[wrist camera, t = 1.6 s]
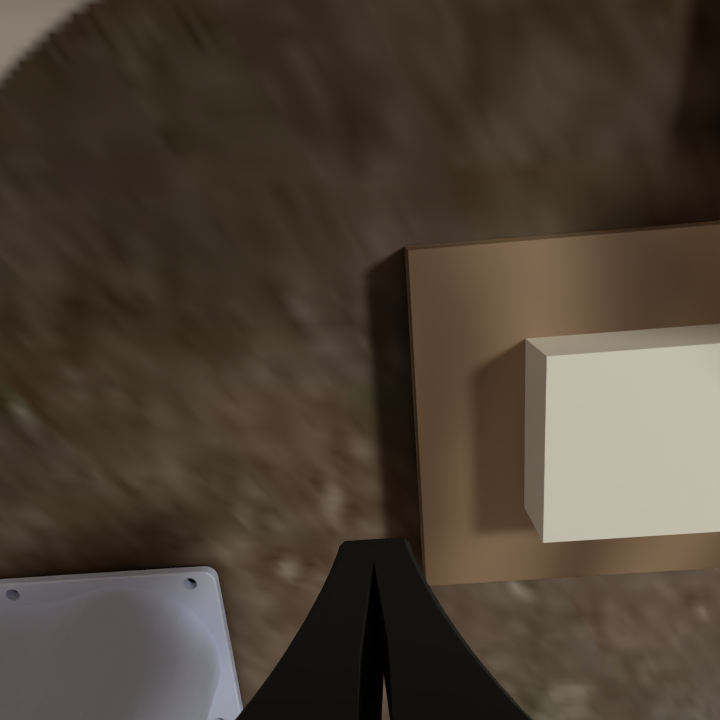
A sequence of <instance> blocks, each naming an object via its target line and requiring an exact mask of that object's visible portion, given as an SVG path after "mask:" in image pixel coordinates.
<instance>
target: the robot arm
mask: <svg viewBox="0 0 720 720" xmlns="http://www.w3.org/2000/svg"><path fill="white" fill-rule="evenodd" d="M187 578H191V579H194V580H195V581H196V582H195V583H193V582H190V581H189V580H188V579H187ZM14 590H16V591H17V592H18V593H17V592H15V591H14ZM383 676H384V679H385V686H386V693H387V701H388V708H389V715H390V720H532V719H531V718H530V717H529V716H528V715H527V714H526V713H525V712H524V711H523V710H522V709H521V708H520V706H519V705H518V704H517V703H516V702H515V701H514V700H513V699H512V698H511V696H510V695H509V694H508V693H507V692H506V691H505V690H504V689H503V688H502V687H501V685H500V684H499V683H498V682H497V681H496V679H495V678H494V677H493V676H492V675H491V674H490V672H489V671H488V670H487V669H486V668H485V666H484V665H483V664H482V663H481V661H480V660H479V659H478V658H477V656H476V655H475V654H474V652H473V651H472V650H471V648H470V647H469V646H468V644H467V643H466V642H465V640H464V639H463V637H462V636H461V635H460V633H459V632H458V630H457V629H456V628H455V626H454V625H453V623H452V622H451V620H450V619H449V617H448V616H447V614H446V613H445V611H444V610H443V608H442V606H441V605H440V603H439V601H438V600H437V598H436V597H435V595H434V593H433V592H432V590H431V588H430V587H429V585H428V583H427V581H426V579H425V577H424V576H423V574H422V572H421V570H420V568H419V566H418V564H417V561H416V559H415V557H414V555H413V552H412V549H411V546H410V542H409V541H407V540H406V539H405V538H404V537H402V538H386V539H371V540H356V541H344V542H343V544H342V545H341V546H340V547H339V550H338V553H337V556H336V559H335V561H334V564H333V566H332V568H331V571H330V573H329V575H328V577H327V579H326V581H325V584H324V586H323V588H322V590H321V592H320V593H319V595H318V597H317V599H316V601H315V603H314V605H313V607H312V609H311V610H310V612H309V614H308V616H307V618H306V619H305V621H304V623H303V624H302V626H301V628H300V629H299V631H298V633H297V634H296V636H295V637H294V639H293V641H292V642H291V644H290V646H289V647H288V649H287V650H286V652H285V654H284V655H283V657H282V658H281V659H280V661H279V662H278V664H277V665H276V667H275V668H274V670H273V671H272V673H271V674H270V675H269V677H268V678H267V679H266V681H265V682H264V684H263V685H262V686H261V688H260V689H259V690H258V692H257V693H256V694H255V696H254V697H253V698H252V699H251V701H250V702H249V703H248V704H247V706H246V707H245V708H244V709H243V706H242V700H241V695H240V690H239V684H238V679H237V674H236V668H235V663H234V658H233V652H232V647H231V642H230V637H229V631H228V626H227V621H226V615H225V610H224V605H223V599H222V594H221V589H220V583H219V578H218V575H217V572H216V571H215V570H214V569H212V568H210V567H206V566H198V567H183V568H167V569H151V570H136V571H120V572H104V573H89V574H73V575H57V576H41V577H26V578H10V579H0V720H382V699H383Z"/></svg>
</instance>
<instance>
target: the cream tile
mask: <svg viewBox="0 0 720 720" xmlns="http://www.w3.org/2000/svg"><path fill="white" fill-rule="evenodd" d="M524 508H525V510H526V511H527V513H528V515H529V517H530V519H531V521H532V523H533V525H534V527H535V528H536V530H537V532H538V534H539V536H540V538H541V540H542V542H543V543H550V542H565V541H581V540H597V539H612V538H628V537H644V536H659V535H675V534H691V533H706V532H720V324H710V325H697V326H684V327H671V328H658V329H645V330H631V331H618V332H605V333H592V334H579V335H566V336H553V337H540V338H527V339H525V467H524Z"/></svg>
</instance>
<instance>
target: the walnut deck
mask: <svg viewBox="0 0 720 720" xmlns="http://www.w3.org/2000/svg"><path fill="white" fill-rule="evenodd" d="M405 264H406V282H407V299H408V317H409V335H410V352H411V370H412V387H413V405H414V423H415V440H416V458H417V476H418V493H419V511H420V528H421V546H422V561H423V567H424V573H425V579H426V581H427V583H428V585H429V586H433V585H449V584H465V583H481V582H498V581H514V580H530V579H546V578H562V577H579V576H595V575H611V574H627V573H644V572H660V571H676V570H692V569H708V568H720V532H706V533H691V534H675V535H659V536H644V537H628V538H612V539H597V540H581V541H565V542H550V543H543V542H542V540H541V538H540V536H539V534H538V532H537V530H536V528H535V527H534V525H533V523H532V521H531V519H530V517H529V515H528V513H527V511H526V510H525V508H524V467H525V339H527V338H540V337H553V336H566V335H579V334H592V333H605V332H618V331H631V330H645V329H658V328H671V327H684V326H697V325H710V324H720V220H719V221H707V222H695V223H683V224H671V225H659V226H647V227H634V228H622V229H610V230H598V231H586V232H574V233H562V234H550V235H538V236H526V237H514V238H501V239H489V240H477V241H465V242H453V243H441V244H429V245H417V246H405Z"/></svg>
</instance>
